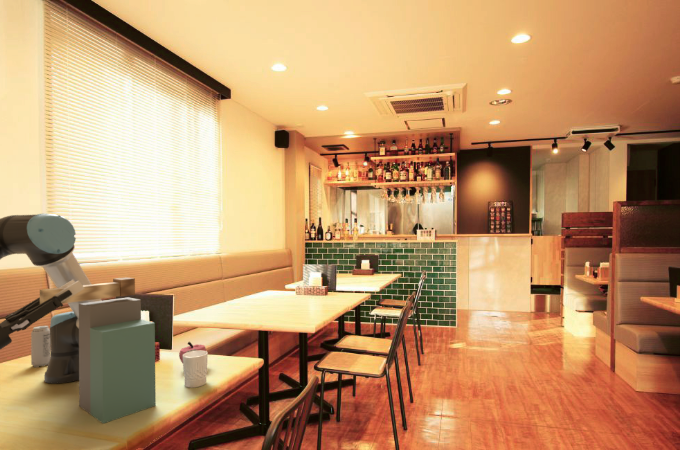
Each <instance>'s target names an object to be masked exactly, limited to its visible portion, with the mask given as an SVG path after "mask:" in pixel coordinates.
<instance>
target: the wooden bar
mask: <svg viewBox="0 0 680 450" xmlns="http://www.w3.org/2000/svg"><path fill="white" fill-rule="evenodd" d="M83 287H84V288H85V289H83V290H81V291H80V292H78V293H77V294H75V295H73V296H72V297H70V298H69V299H67V300H65V301H64V302H62V304H63V305H64V304H68V303H71V302H78V301H86V300H94V299H101V300H102V299H107V298H108V299H109V298H116V297H128V296H135V295H136V279H135V278H134V277H128V276H127V277H118V278H117V277H116V278H113V279H112V282H103V283H94V284H92V283H91V285H83ZM65 288H67V287H62V288H57V287H54V288H44V289H39V297H40V304H41V303H43V302H45V301H47V300H49V299H50V298H52V297H53V296H55V294H57V293H58V292H60V291H62V290H63V289H65Z"/></svg>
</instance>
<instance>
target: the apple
mask: <svg viewBox="0 0 680 450" xmlns="http://www.w3.org/2000/svg"><path fill="white" fill-rule="evenodd" d="M187 345H188V346H186V347H183V348H181V349H180V351H179V352H178V353H179V354H178V355H179V356H178V357H179V360H180V362H181V363H182V364H183V354H185V353H187V352H191V351H199V350H202V351H207V348H206V346H205V345H204V344H192V343H191V341H188V342H187Z"/></svg>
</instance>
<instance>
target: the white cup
mask: <svg viewBox="0 0 680 450" xmlns="http://www.w3.org/2000/svg"><path fill="white" fill-rule="evenodd" d="M208 355H209V353H208V351H207V350H206V351H202V350H199V351H191V352H187V353H185V354H183V363H182V366H183V367H182V369H183V376H184V377H183V378H184V386H185V387H186V388H198V387H202V386H205V384H206V383H207V375H208V357H209V356H208Z"/></svg>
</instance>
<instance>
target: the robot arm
mask: <svg viewBox="0 0 680 450" xmlns="http://www.w3.org/2000/svg"><path fill="white" fill-rule="evenodd" d="M75 235H77V234H76V230H75V227H74V225H73V224H72V223H71V221H69V219H67V218H66V217H65V216H62V215H60V214H53V213H52V214H51V213H37V214H14V215H13V214H12V215H7V216H4V217H1V218H0V260H2V259H4V258H6V257H7V256H11V255H16V254H17V255H23V254H24V255H26V256H27V257H28V259H29V260H30V261H31V263H32V264H33V265H34V266H36V267H42V268H43V269H44V271H45V273H46V274H47V275H48V277H49V278H50V280H51V282H52V283H53V284H54V286H55V288H62V287H67V288H65V289H63V290H62V291H60V292H58V293H57V294H55V296H53V297H52V298H50V299H49V300H47V301H45V302H43V303H41V304H40V296H39V297H38V298H36V299H34V300H33V301H30V302H29V303H28V304H25V305H24V306H22V307H20V308H19V309H17V310H15V311H13V312H11V313H9V314H7V315H5V318H4V320H3V321H1V322H0V350H2V349H4V348H5V347H7V346H9V345H10V344H11V343H12V342H13V341H12V338H11V337H10V335H11V334H13V333H15V332H20V331H25V330H27V329H28V328H29V327H30V326H31V325H34V323H36V322H38V321H39V320H41V319H42V318H44V317H45V316H47V315H49V314H50V313H52V312H54V311H55V310H56V309H58V308H60V307H61V308H62V307H63V306H64V303H63V304H62V302H64V301H65V300H67V299H69V298H70V297H72V296H73V295H75V294H77V293H78V292H80V291H81V290H83V289H85V288H84V287H83V285H91V284H92V282H91V280H90V279H89V277H88V276H87V275H86V273H85V271H84V269H83V267H82V266H81V265H80V263H79V261H78V260H77V258H76V257H75V255H74V253H73V252H74V250H75V243H76V239H77V238H76V236H75ZM96 301H103V300H102V299H94V300H86V301H78V302H71V303H67V305H68V306H69V308H70V309H71V311H67V312H62V313H57V314H55V315H53V316H52V317H51V318H50V326H49V329H50V361H49V364H48V365H47V366H46V371H45V372H44V375H43V376H44V379H43V381H44V382H45V383H47V384H63V383H65V384H66V383H71V382H77V381H79V304H80V303H88V302H96Z"/></svg>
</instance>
